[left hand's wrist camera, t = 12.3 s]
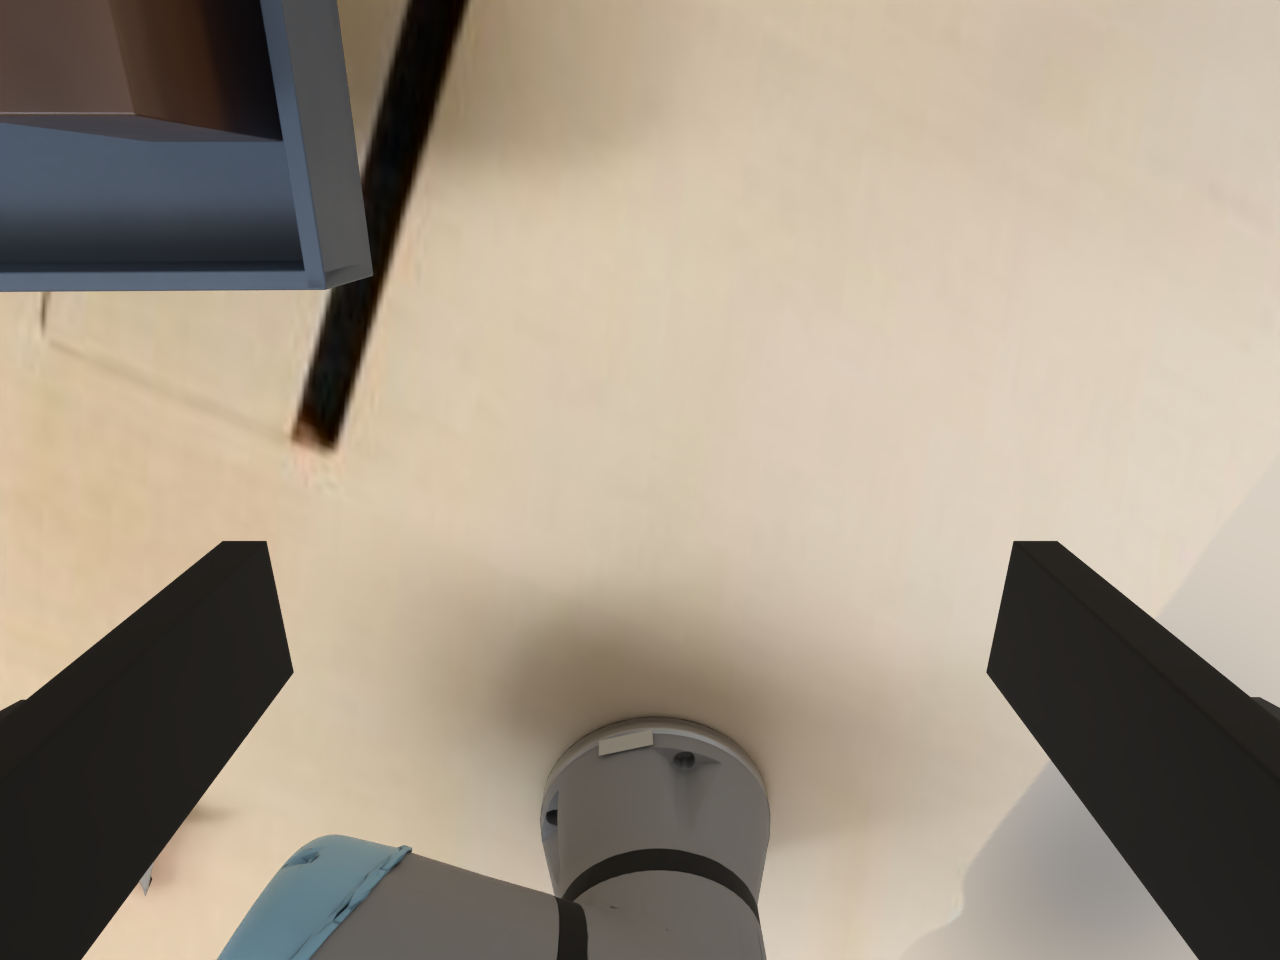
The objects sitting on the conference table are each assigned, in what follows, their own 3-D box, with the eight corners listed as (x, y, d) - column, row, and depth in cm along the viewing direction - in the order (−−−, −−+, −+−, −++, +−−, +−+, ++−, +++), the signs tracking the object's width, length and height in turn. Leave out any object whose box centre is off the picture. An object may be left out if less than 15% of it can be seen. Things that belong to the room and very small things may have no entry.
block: (258, -15, 23) (82, -119, 15) (283, 141, 24) (136, 115, 17) (114, -15, 23) (-133, -121, 15) (149, 142, 24) (-58, 115, 17)
